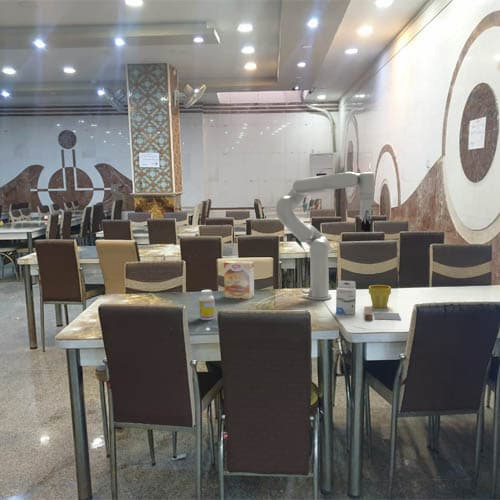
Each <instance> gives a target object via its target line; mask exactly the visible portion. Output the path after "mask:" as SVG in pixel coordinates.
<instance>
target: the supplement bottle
mask: <svg viewBox="0 0 500 500" xmlns="http://www.w3.org/2000/svg"><path fill="white" fill-rule="evenodd" d="M200 293H201V295H200V296H199V299H198V300H199V318H200V320H202V321H210V320H214V319H215V317H216V316H215V315H216V314H215V311H216V310H215V297H214V296H213V295H212V294H213V291H212V289H203V290H201V291H200Z"/></svg>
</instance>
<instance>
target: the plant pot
mask: <svg viewBox="0 0 500 500" xmlns="http://www.w3.org/2000/svg"><path fill="white" fill-rule="evenodd" d="M391 293H392V287H391V286H390V285H384V284H373V285H369V286H368V294H369V295H370V299H371V304H372V307H374V308H377V309H379V308H380V309H383V308H384V309H385V308H387V307H388V304H389V303H388V302H389V298H390V295H391Z"/></svg>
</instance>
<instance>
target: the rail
mask: <svg viewBox="0 0 500 500" xmlns="http://www.w3.org/2000/svg"><path fill="white" fill-rule="evenodd" d="M363 311H364V317H365V318H364V321H373V318H374V317H373V316H374V313H373V308H372V306H364V310H363Z"/></svg>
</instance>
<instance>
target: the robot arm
mask: <svg viewBox="0 0 500 500" xmlns="http://www.w3.org/2000/svg"><path fill="white" fill-rule="evenodd" d="M356 187H357V188H358V200H359V202H360V203H359V219H360V220H361V231H363V232H366V233H367V232H368V233H369V232H371V220H372V201H373V200H374V199H375V190H374V189H375V174H374V173H373V172H372V171H370V172H369V171H368V172H367V171H366V172H365V171H364V172H360V173H359V172H358V173H357V172H352V171H346V172H340V173H333V174H326V175H325V174H324V175H317V176H316V175H315V176H310V177H304V178H298V179H296V180H295V181H294V182H293V184H292V189H291V190H290V191H289V192H288V193H287V195H284V196H282V197H280V198H279V200H277V203H276V207H275V212H276V216H277V218H278V220H279V221H280V223H281V224H282V225H283V226H284V227H285V228H286V229H287V230H288V231H289V232H290V233H291V234H292V235H293V236H294V237H296V239H298V240H299V242H301V243H306V245H308V247H309V258H310V259H309V260H310V263H309V264H310V268H309V270H310V272H309V273H310V275H309V276H310V288H308V289H301V290H302V291H301V294H304V295H307V299H309V300H313V301H314V300H315V301H326V300H327V301H328V300H331V299H332V295H331V294H329V291H330V290H329V288H330V287H329V285H330V284H329V282H330V281H329V278H330V277H329V275H330V273H329V265H330V264H329V251H330V249H331V243H330V240H329V239H328V238H326V236H325V235H323V234H322V233H321V231H320V230H318V229H317V228H316V227H315V226H313V225H312V224H310V223H306V222H304V221H303V219H301V218H300V217H299V216H298V215H297V214H295V213H294V210H296V209H297V208H298V207H299V205H300V204H301V203H302V202H303V200H304V199H305V198H306V196H307V195H312V194H318V193H327V192H329V191H332V190H338V189H339V190H340V189H345V188H356Z"/></svg>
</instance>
